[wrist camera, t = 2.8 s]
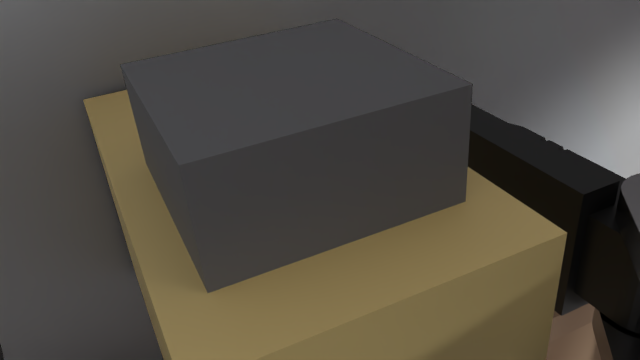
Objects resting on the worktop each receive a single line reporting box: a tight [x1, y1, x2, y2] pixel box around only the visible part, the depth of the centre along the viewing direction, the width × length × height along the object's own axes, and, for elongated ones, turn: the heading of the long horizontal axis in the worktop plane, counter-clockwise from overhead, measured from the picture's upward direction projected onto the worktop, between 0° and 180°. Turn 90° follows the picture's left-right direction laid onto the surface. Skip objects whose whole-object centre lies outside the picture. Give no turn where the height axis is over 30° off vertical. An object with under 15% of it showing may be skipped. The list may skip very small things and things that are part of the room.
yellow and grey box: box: [83, 19, 567, 360], centre depth 9 cm, size 5×4×7 cm
